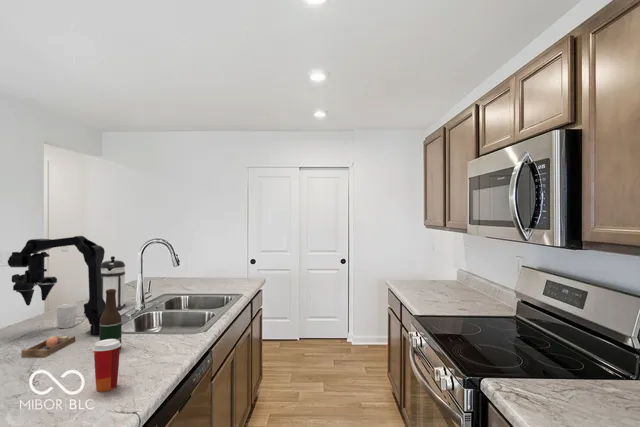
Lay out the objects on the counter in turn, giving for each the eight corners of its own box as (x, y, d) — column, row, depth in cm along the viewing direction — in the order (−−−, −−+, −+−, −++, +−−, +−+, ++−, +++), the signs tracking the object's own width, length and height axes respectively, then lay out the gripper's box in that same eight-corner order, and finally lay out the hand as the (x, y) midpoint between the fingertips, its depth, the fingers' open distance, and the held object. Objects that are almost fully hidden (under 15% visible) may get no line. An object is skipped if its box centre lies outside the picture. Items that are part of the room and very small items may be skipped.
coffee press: (134, 307, 215) (134, 255, 215) (106, 313, 202) (106, 258, 202) (117, 303, 224) (117, 253, 225) (89, 309, 211) (90, 256, 211)
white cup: (59, 330, 172) (60, 308, 173) (53, 327, 177) (53, 306, 177) (78, 326, 179) (79, 305, 179) (72, 323, 184) (72, 303, 184)
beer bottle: (96, 355, 142) (96, 292, 142) (102, 348, 150) (102, 288, 150) (118, 353, 144) (119, 291, 144) (123, 346, 152) (124, 287, 152)
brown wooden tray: (75, 343, 154) (75, 335, 154) (45, 359, 137) (45, 350, 137) (54, 343, 154) (54, 335, 154) (21, 360, 137) (21, 350, 137)
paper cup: (114, 379, 121) (115, 336, 121) (125, 386, 116) (125, 341, 116) (87, 388, 115) (88, 342, 115) (97, 396, 110) (97, 348, 110)
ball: (60, 345, 149) (60, 335, 149) (53, 349, 145) (53, 339, 145) (50, 345, 149) (50, 335, 149) (43, 349, 145) (43, 339, 145)
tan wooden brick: (68, 343, 152) (68, 335, 152) (64, 345, 149) (64, 337, 149) (52, 343, 152) (52, 335, 152) (48, 345, 149) (48, 337, 149)
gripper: (33, 264, 173) (33, 298, 173) (0, 270, 155) (-1, 308, 154) (57, 264, 173) (57, 298, 173) (27, 270, 155) (26, 308, 155)
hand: (36, 302), depth 164 cm, fingers open, 9 cm apart
